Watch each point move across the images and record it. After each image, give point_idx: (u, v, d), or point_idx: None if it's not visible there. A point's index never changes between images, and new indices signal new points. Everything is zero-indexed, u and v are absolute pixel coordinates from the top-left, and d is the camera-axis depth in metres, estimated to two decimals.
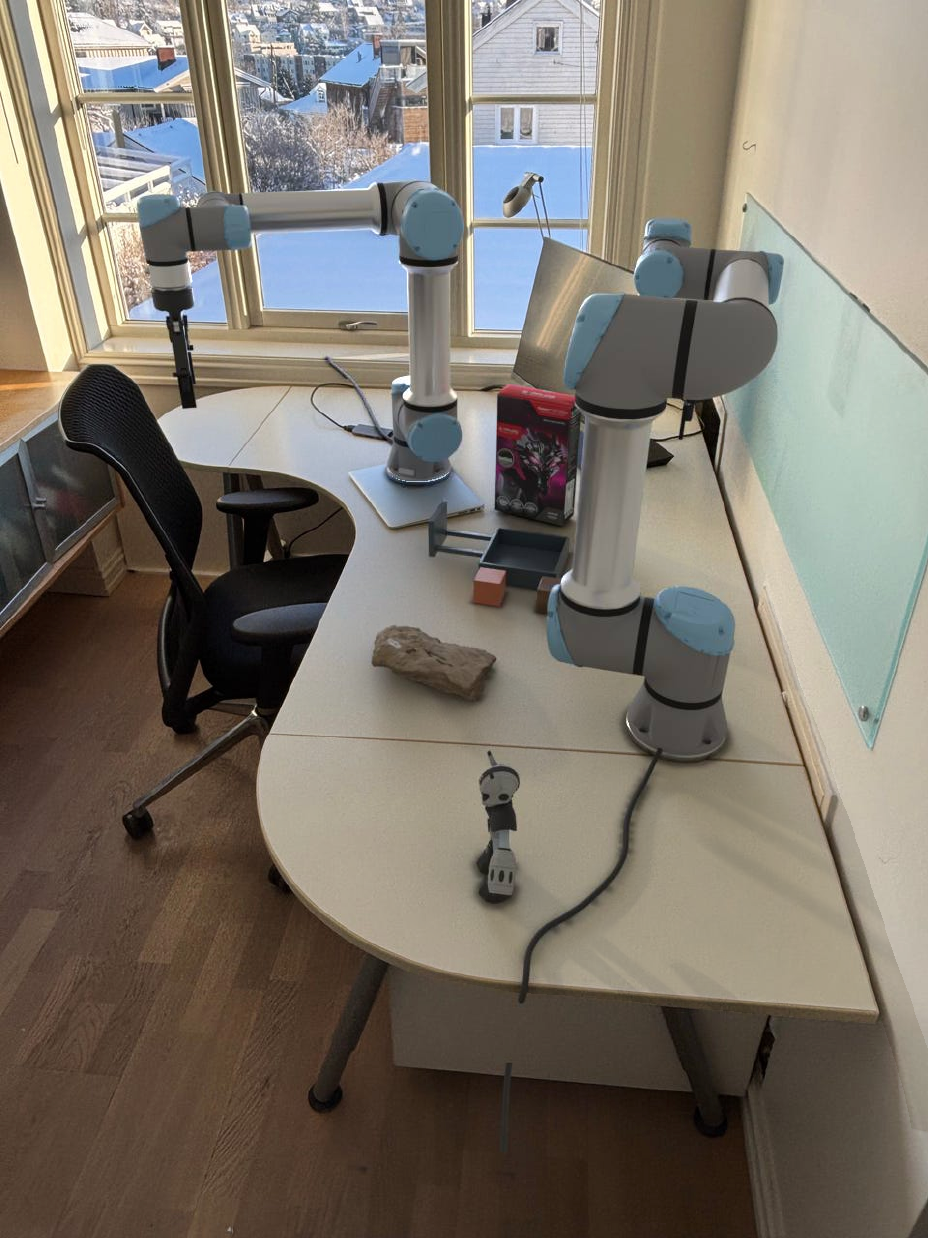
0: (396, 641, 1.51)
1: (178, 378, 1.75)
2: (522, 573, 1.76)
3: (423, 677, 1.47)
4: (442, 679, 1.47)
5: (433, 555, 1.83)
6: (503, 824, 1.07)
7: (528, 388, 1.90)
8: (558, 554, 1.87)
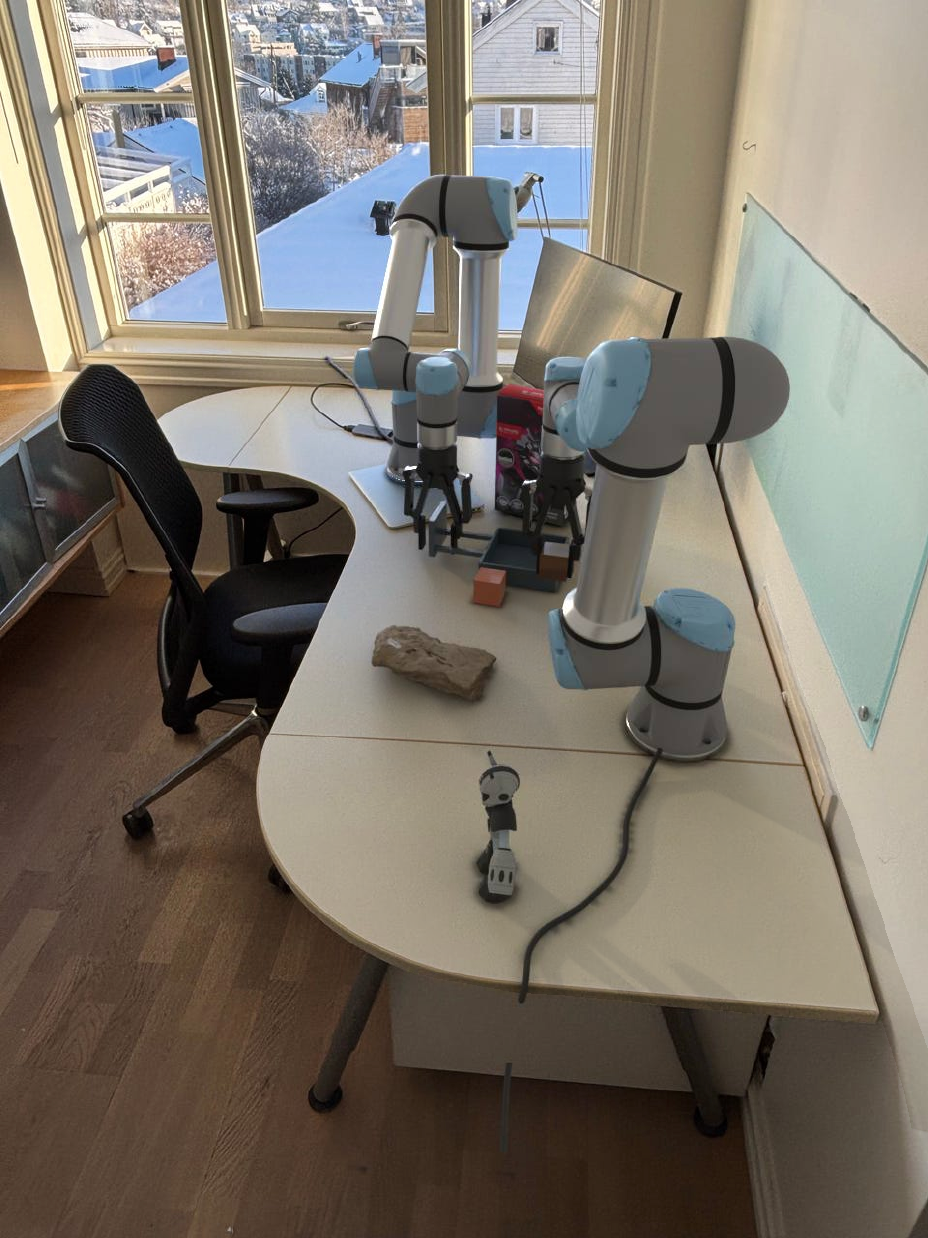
0: (396, 641, 1.51)
1: None
2: (522, 573, 1.76)
3: (423, 677, 1.47)
4: (442, 679, 1.47)
5: (433, 555, 1.83)
6: (503, 824, 1.07)
7: (528, 388, 1.90)
8: None
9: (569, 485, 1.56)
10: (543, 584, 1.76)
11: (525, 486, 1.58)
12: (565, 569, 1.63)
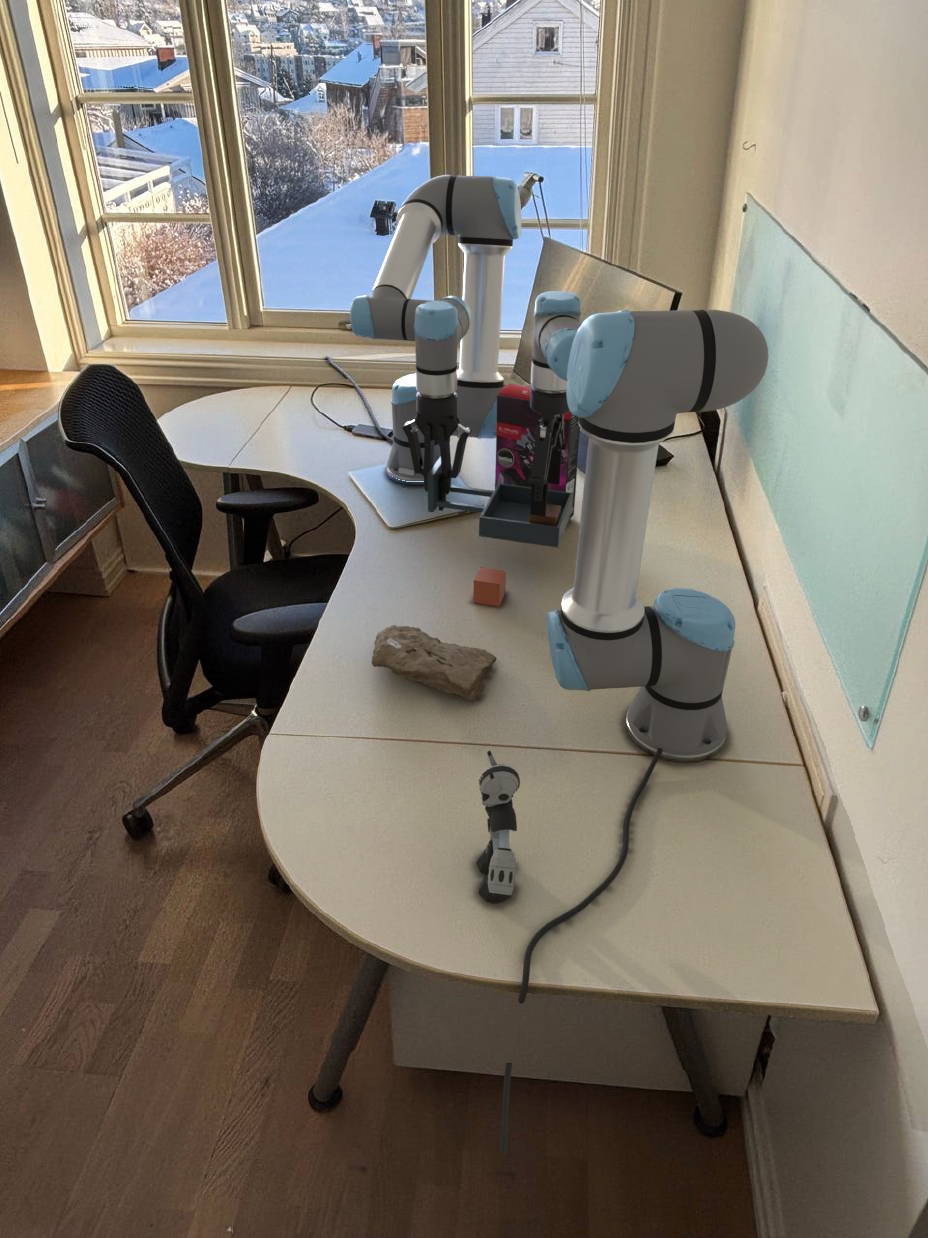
0: (396, 641, 1.51)
1: None
2: (524, 527, 1.71)
3: (423, 677, 1.47)
4: (442, 679, 1.47)
5: (433, 510, 1.77)
6: (503, 824, 1.07)
7: (528, 388, 1.90)
8: (561, 511, 1.82)
9: None
10: (546, 539, 1.71)
11: None
12: None
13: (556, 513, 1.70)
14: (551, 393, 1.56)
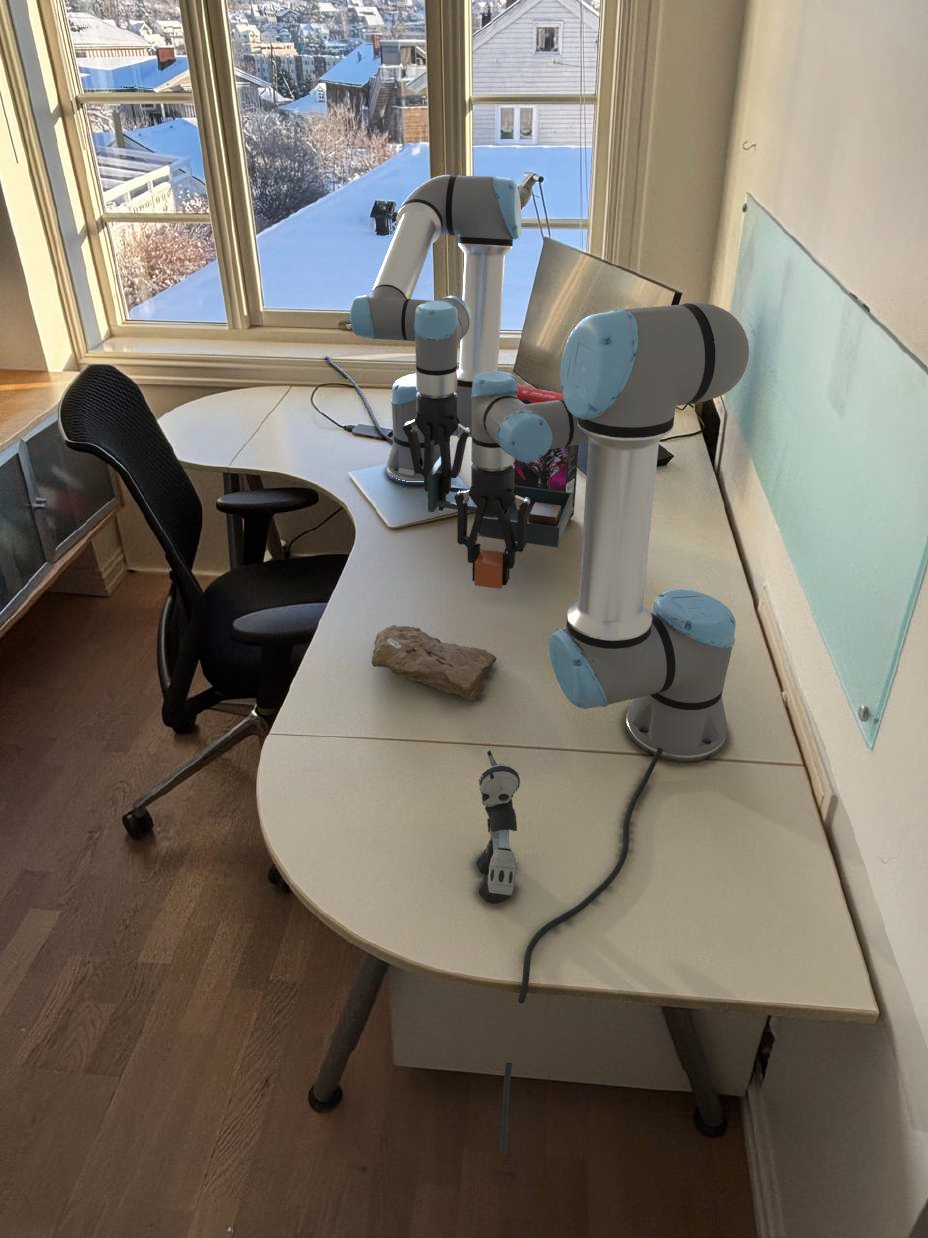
0: (396, 641, 1.51)
1: None
2: None
3: (423, 677, 1.47)
4: (442, 679, 1.47)
5: (433, 510, 1.77)
6: (503, 824, 1.07)
7: (528, 388, 1.90)
8: (561, 511, 1.82)
9: (500, 496, 1.61)
10: (546, 539, 1.71)
11: (458, 496, 1.63)
12: None
13: (556, 513, 1.70)
14: (511, 464, 1.59)
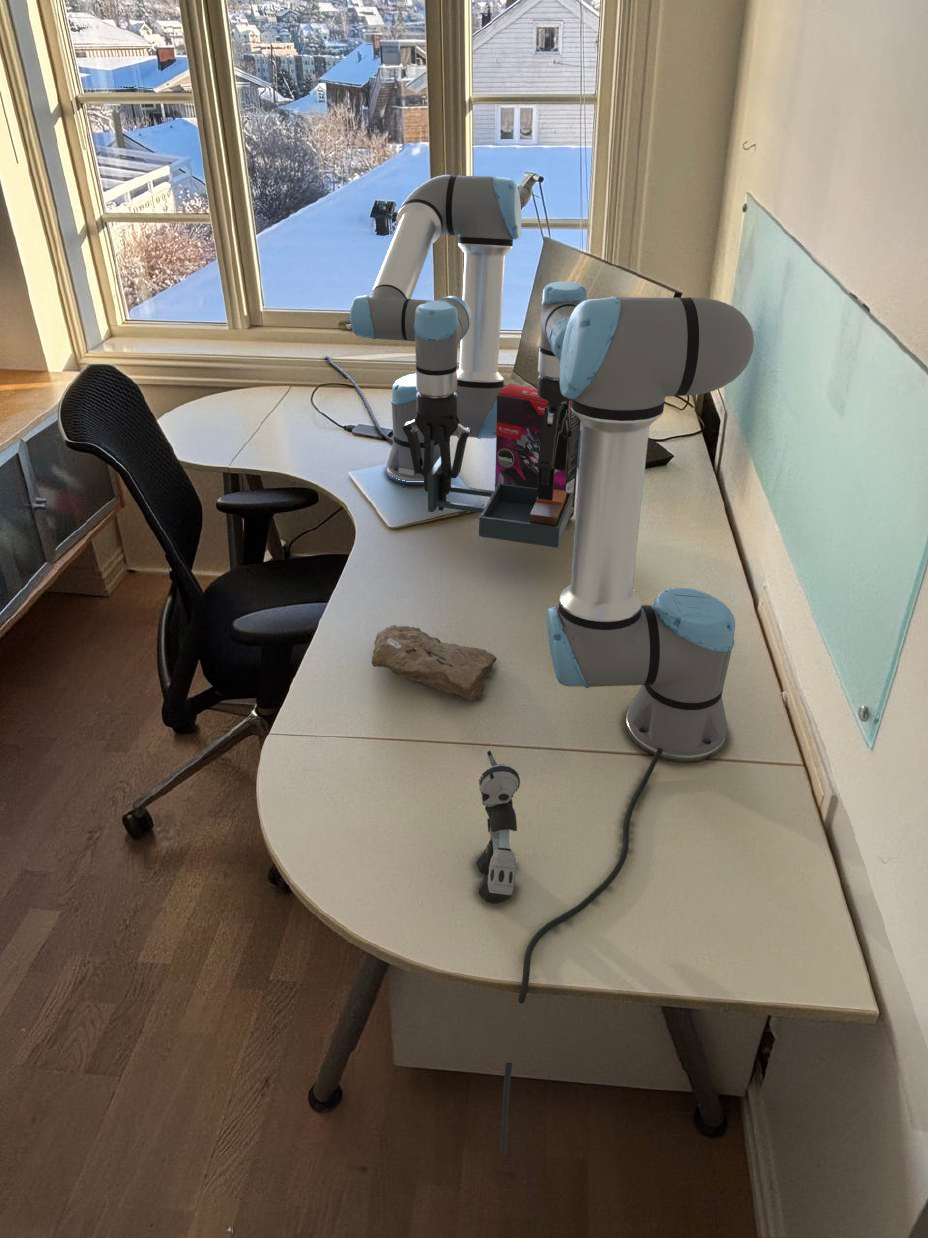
0: (396, 641, 1.51)
1: None
2: (524, 528, 1.71)
3: (423, 677, 1.47)
4: (442, 679, 1.47)
5: (433, 510, 1.77)
6: (503, 824, 1.07)
7: (528, 388, 1.90)
8: None
9: None
10: (546, 539, 1.71)
11: None
12: None
13: (556, 513, 1.70)
14: (558, 380, 1.61)
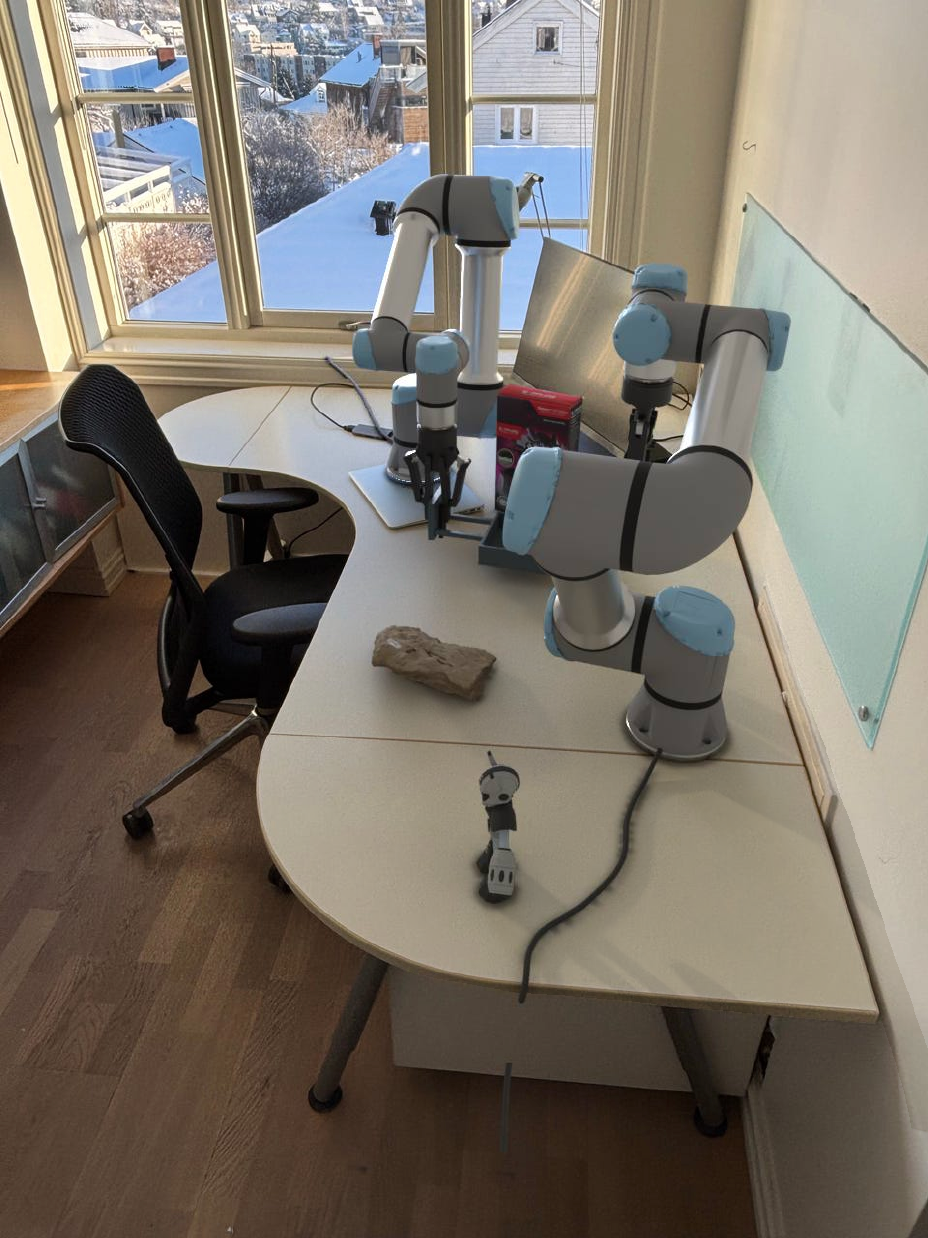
0: (396, 641, 1.51)
1: None
2: (523, 556, 1.74)
3: (423, 677, 1.47)
4: (442, 679, 1.47)
5: (433, 538, 1.81)
6: (503, 824, 1.07)
7: (528, 388, 1.90)
8: None
9: None
10: None
11: None
12: None
13: None
14: (649, 382, 1.34)
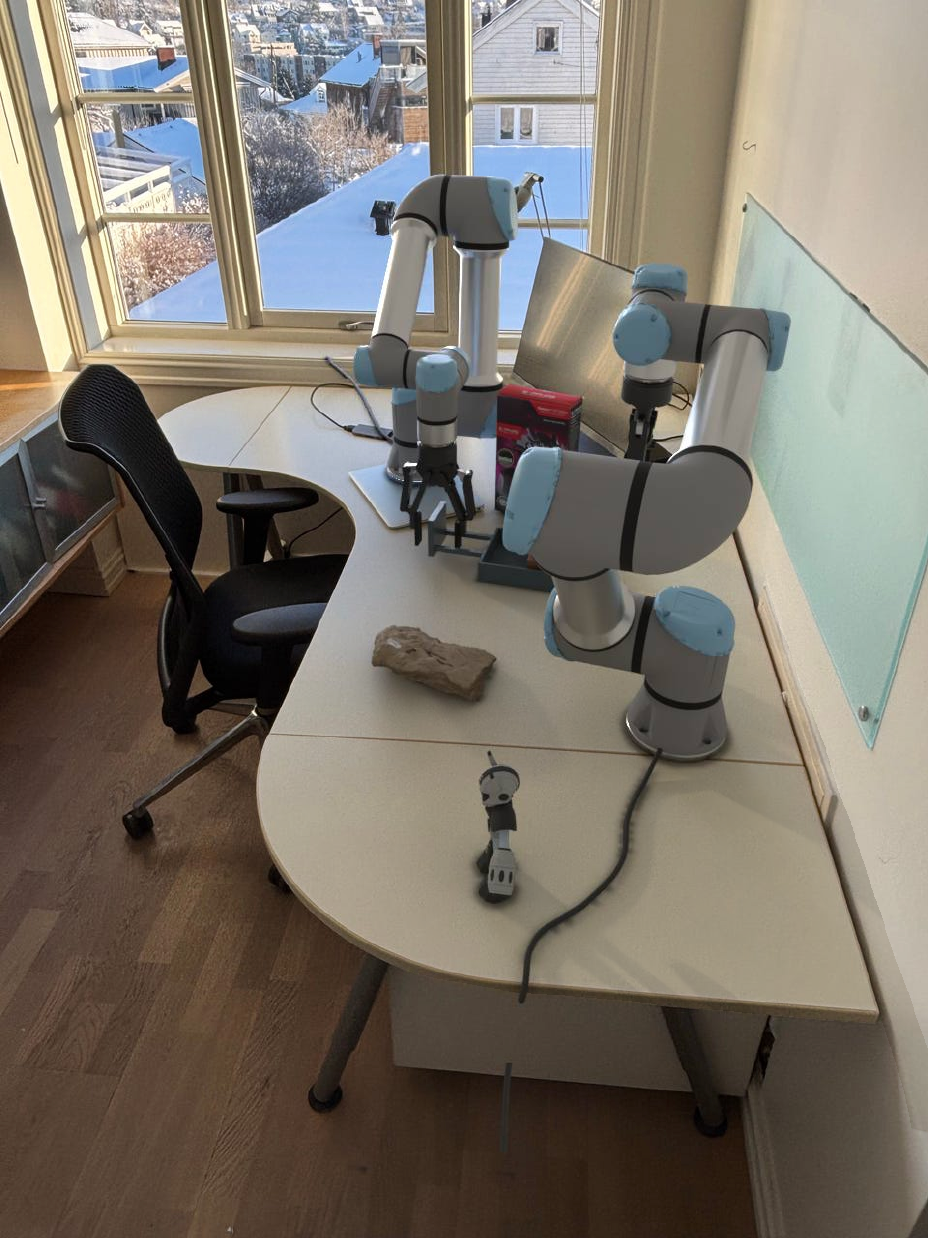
0: (396, 641, 1.51)
1: None
2: (522, 573, 1.76)
3: (423, 677, 1.47)
4: (442, 679, 1.47)
5: (433, 555, 1.83)
6: (503, 824, 1.07)
7: (528, 388, 1.90)
8: None
9: None
10: (542, 584, 1.76)
11: None
12: None
13: None
14: (649, 382, 1.34)
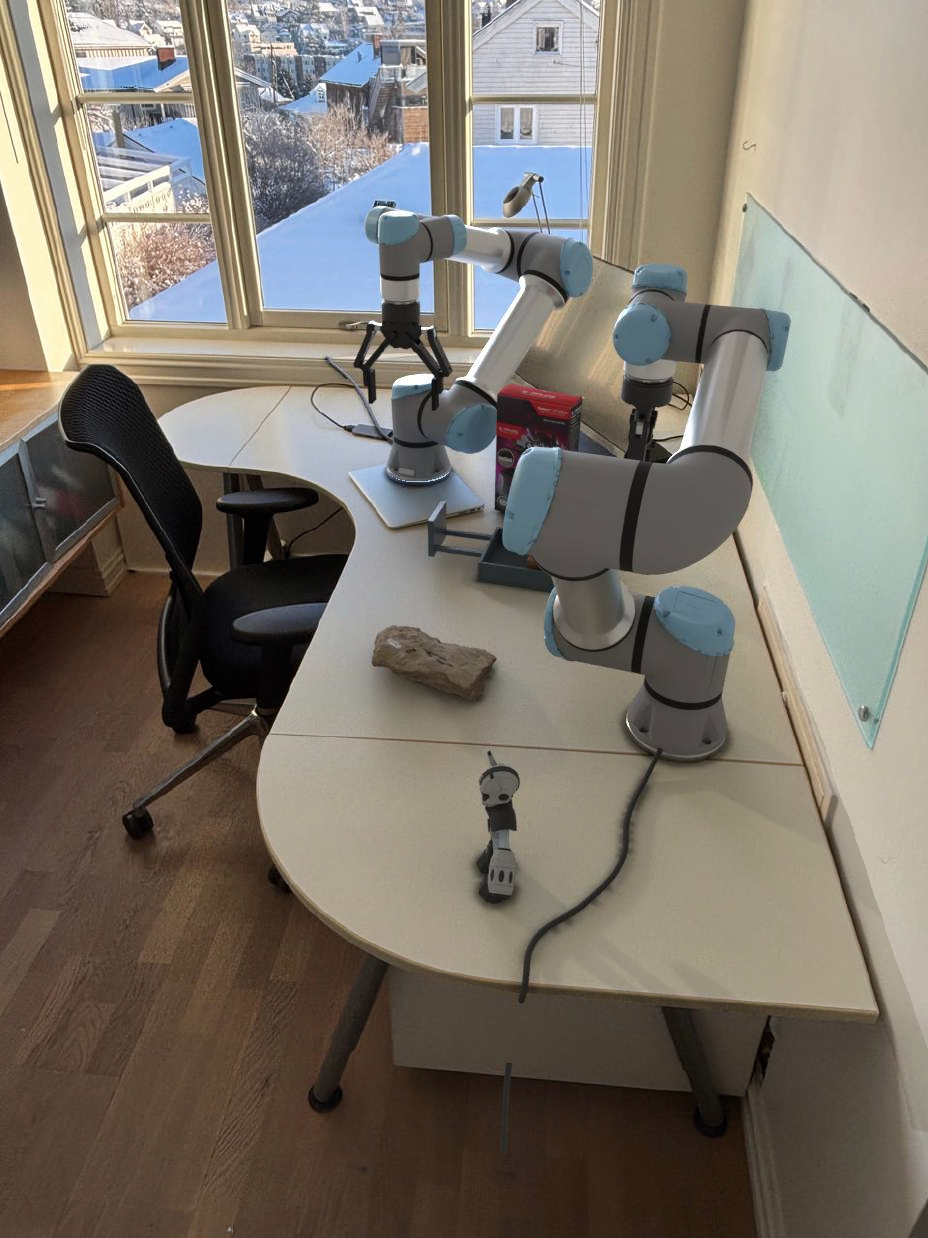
0: (396, 641, 1.51)
1: None
2: (522, 573, 1.76)
3: (423, 677, 1.47)
4: (442, 679, 1.47)
5: (433, 555, 1.83)
6: (503, 824, 1.07)
7: (528, 388, 1.90)
8: None
9: None
10: (542, 584, 1.76)
11: None
12: None
13: None
14: (649, 382, 1.34)
